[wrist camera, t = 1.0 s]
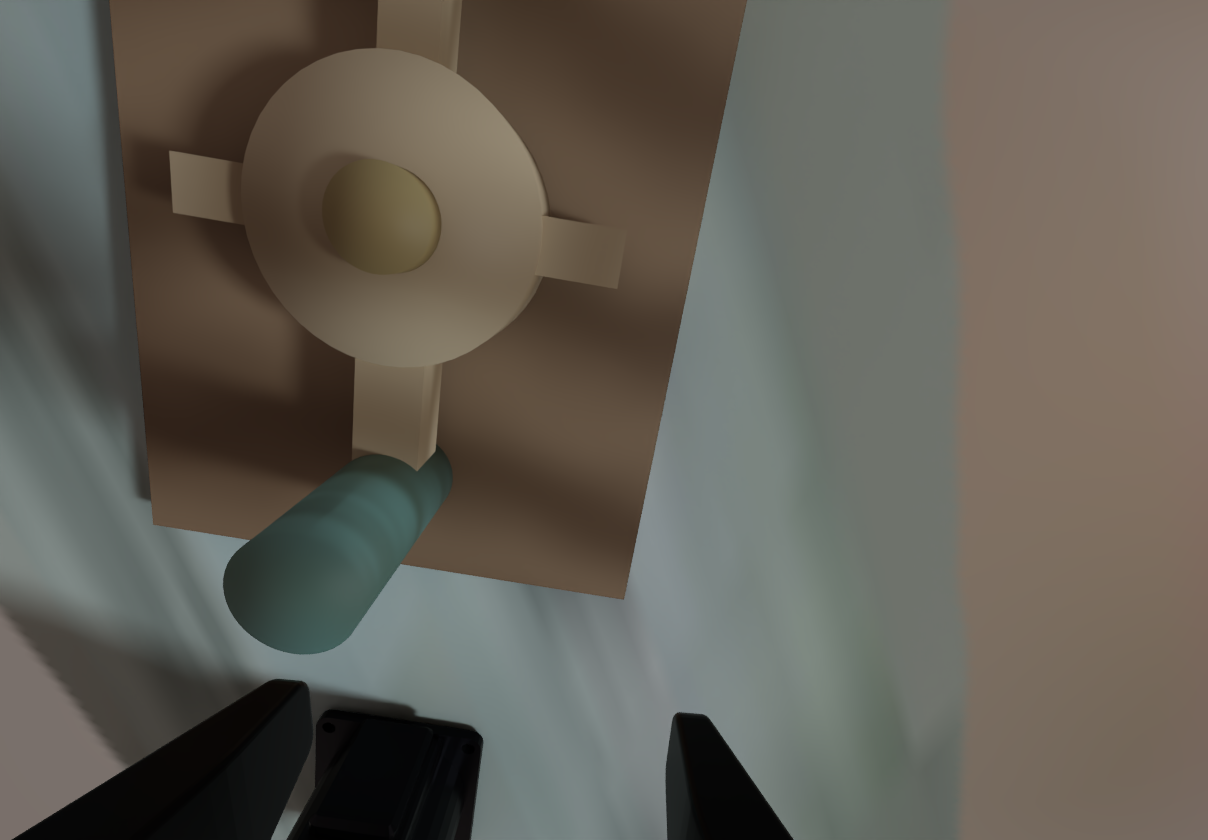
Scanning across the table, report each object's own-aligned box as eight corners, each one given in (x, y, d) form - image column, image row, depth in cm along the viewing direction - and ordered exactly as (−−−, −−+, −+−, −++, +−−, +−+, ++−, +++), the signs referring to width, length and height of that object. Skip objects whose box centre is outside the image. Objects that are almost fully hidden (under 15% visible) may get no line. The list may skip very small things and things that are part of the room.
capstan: (216, -50, 14) (-125, -303, 7) (659, 31, 14) (693, -147, 8) (234, 485, 18) (29, 612, 12) (574, 540, 18) (550, 693, 12)
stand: (623, 579, 20) (624, 705, 15) (180, 508, 20) (8, 609, 14) (759, -95, 14) (849, -313, 9) (132, -213, 14) (-193, -520, 8)
